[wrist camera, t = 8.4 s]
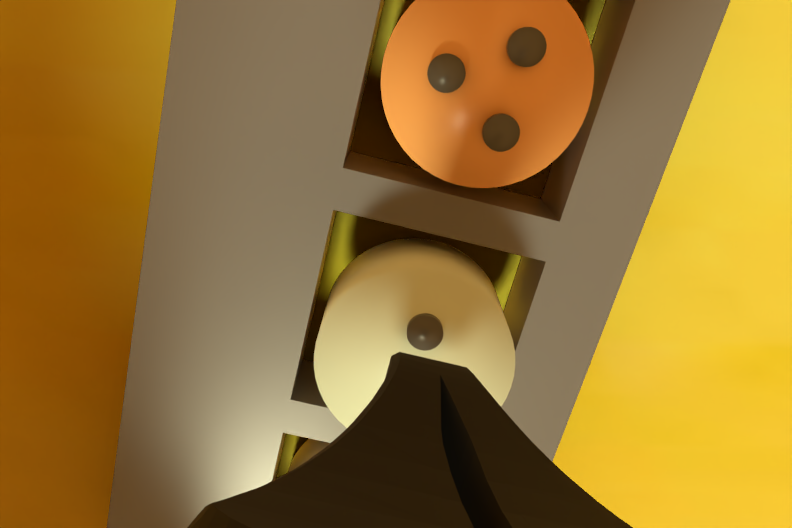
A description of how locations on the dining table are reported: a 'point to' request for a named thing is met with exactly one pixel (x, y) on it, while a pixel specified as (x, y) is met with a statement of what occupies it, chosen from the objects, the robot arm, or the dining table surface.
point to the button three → (486, 86)
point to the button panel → (367, 197)
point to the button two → (409, 322)
